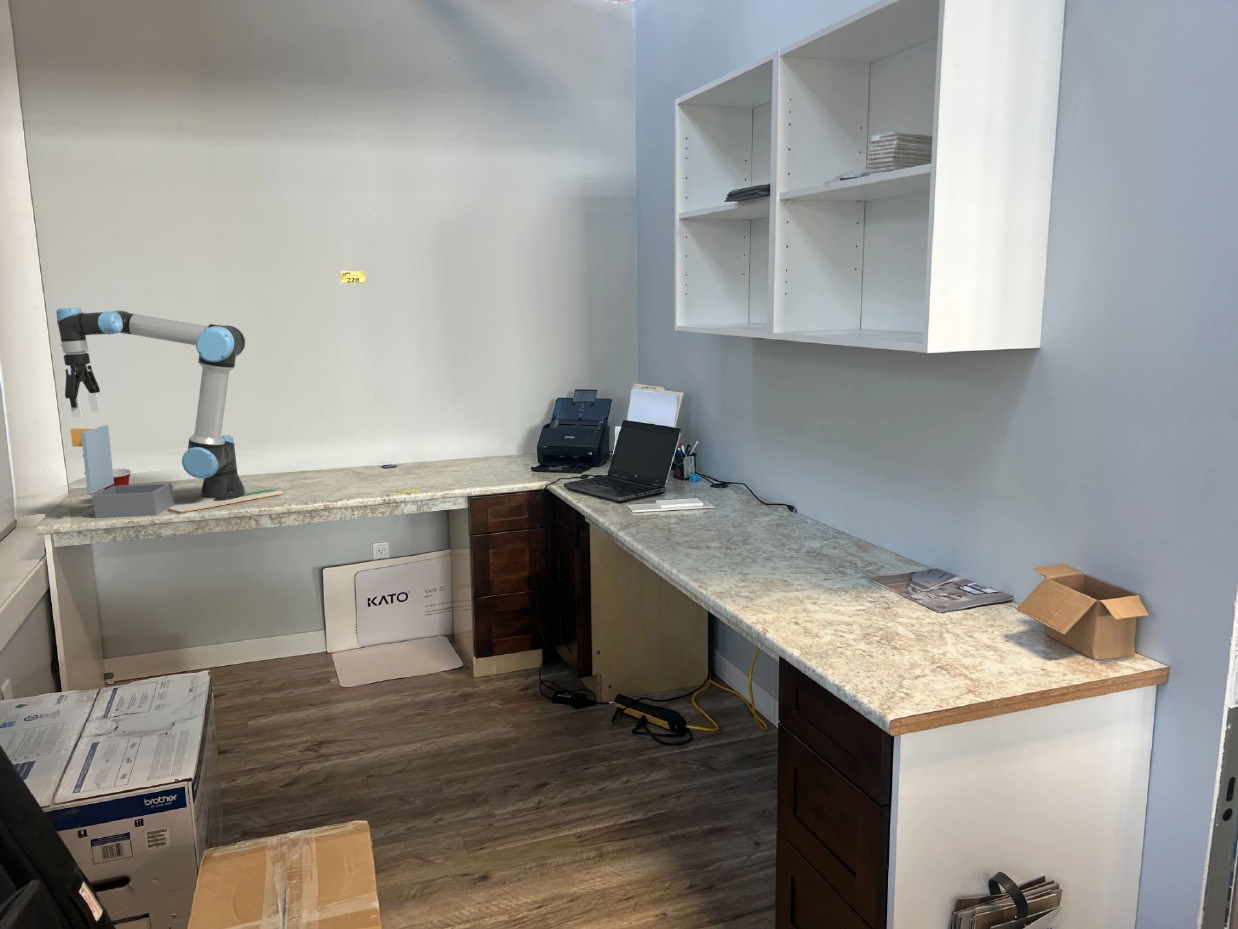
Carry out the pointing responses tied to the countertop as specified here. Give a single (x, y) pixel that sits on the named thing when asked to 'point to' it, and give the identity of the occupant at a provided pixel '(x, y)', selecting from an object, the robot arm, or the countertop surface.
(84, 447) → the lid
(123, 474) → the plastic cup
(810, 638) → the countertop surface
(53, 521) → the countertop surface
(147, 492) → the tub
